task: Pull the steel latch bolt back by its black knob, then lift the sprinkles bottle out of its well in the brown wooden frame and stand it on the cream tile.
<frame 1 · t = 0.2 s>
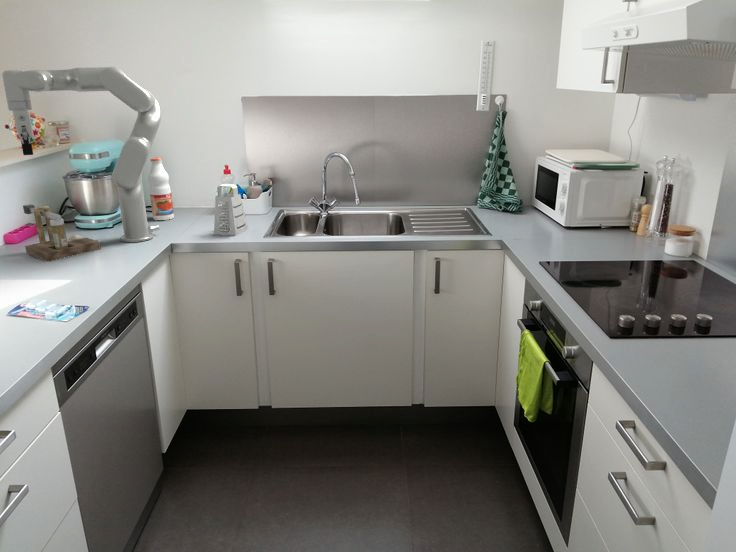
hand: (28, 153, 221), 36 cm above the worktop, tool pointing down, fingers open, 9 cm apart
fruit juice: (163, 219, 275), on the worktop
grater: (231, 232, 251), on the worktop
brown wooden frame: (63, 251, 226), on the worktop
latch bolt: (42, 213, 224), point 14 cm above the worktop, slide at 0.0 cm
sprinkles bottle: (63, 254, 222), resting in brown wooden frame
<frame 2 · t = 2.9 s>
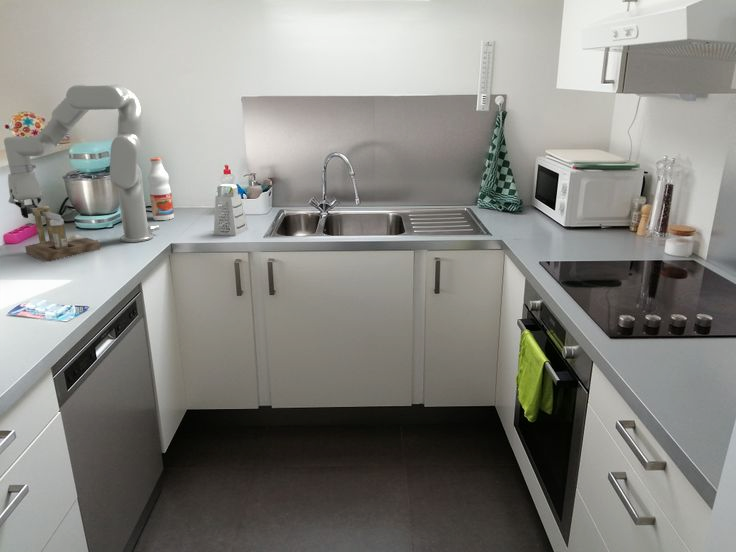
hand: (30, 216, 231), 12 cm above the worktop, tool pointing down, fingers closed on latch bolt, 3 cm apart
latch bolt: (42, 213, 224), point 14 cm above the worktop, slide at 0.0 cm, touching gripper
everything else where it was.
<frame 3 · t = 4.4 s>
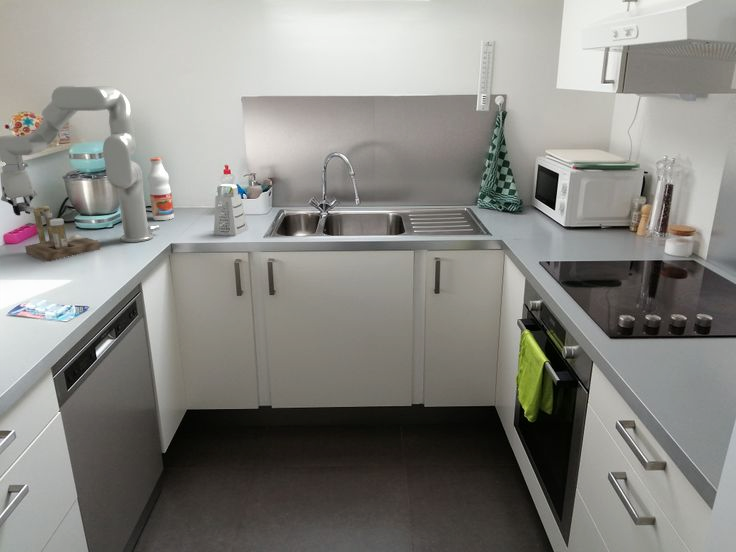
hand: (22, 213, 236), 12 cm above the worktop, tool pointing down, fingers closed on latch bolt, 3 cm apart
latch bolt: (34, 210, 228), point 14 cm above the worktop, slide at 7.0 cm, touching gripper
everything else where it was.
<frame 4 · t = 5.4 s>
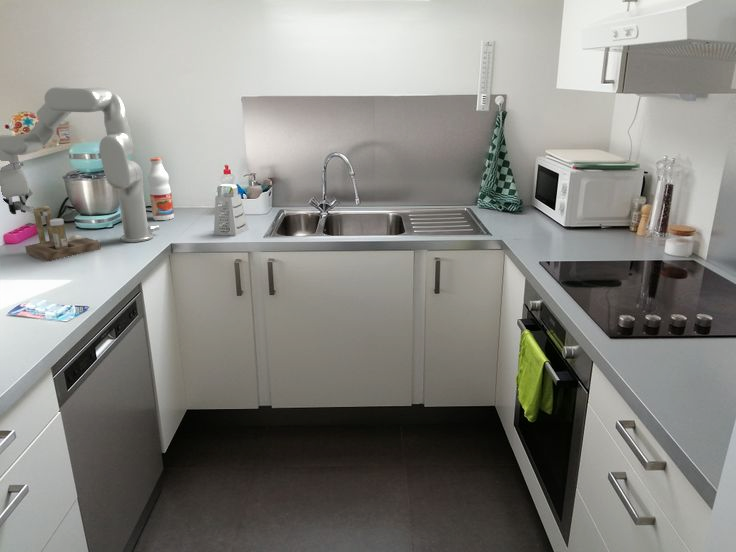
hand: (18, 212, 238), 12 cm above the worktop, tool pointing down, fingers closed on latch bolt, 3 cm apart
latch bolt: (29, 209, 230), point 14 cm above the worktop, slide at 11.0 cm, touching gripper
everything else where it was.
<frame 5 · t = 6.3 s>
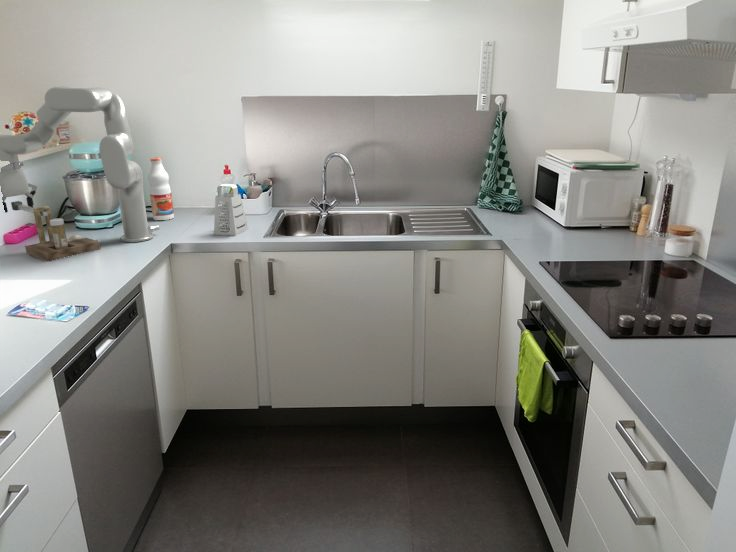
hand: (18, 209, 238), 13 cm above the worktop, tool pointing down, fingers open, 9 cm apart
latch bolt: (29, 209, 230), point 14 cm above the worktop, slide at 11.0 cm
everything else where it was.
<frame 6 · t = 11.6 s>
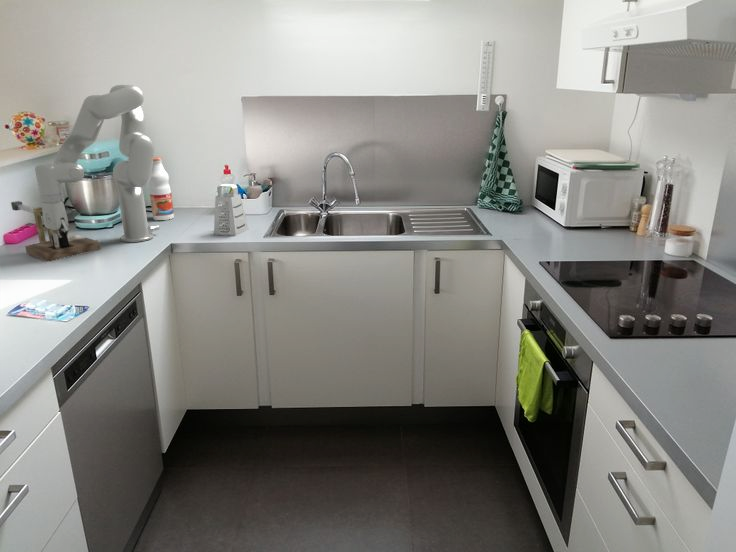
hand: (61, 245, 221), 3 cm above the worktop, tool pointing down, fingers closed on sprinkles bottle, 4 cm apart
sprinkles bottle: (63, 254, 222), resting in brown wooden frame, touching gripper
everything else where it was.
when the fingers open (8 cm above the worktop, at t = 19.2 s): sprinkles bottle drops 1 cm, resting on brown wooden frame.
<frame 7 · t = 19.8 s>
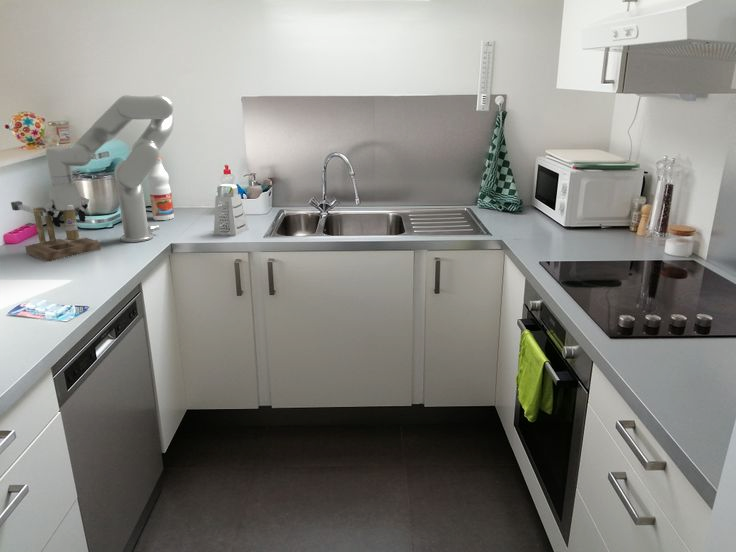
hand: (70, 223, 230), 9 cm above the worktop, tool pointing down, fingers open, 9 cm apart
latch bolt: (29, 209, 230), point 14 cm above the worktop, slide at 11.0 cm, touching gripper
sprinkles bottle: (73, 238, 232), point 3 cm above the worktop, touching brown wooden frame
everything else where it was.
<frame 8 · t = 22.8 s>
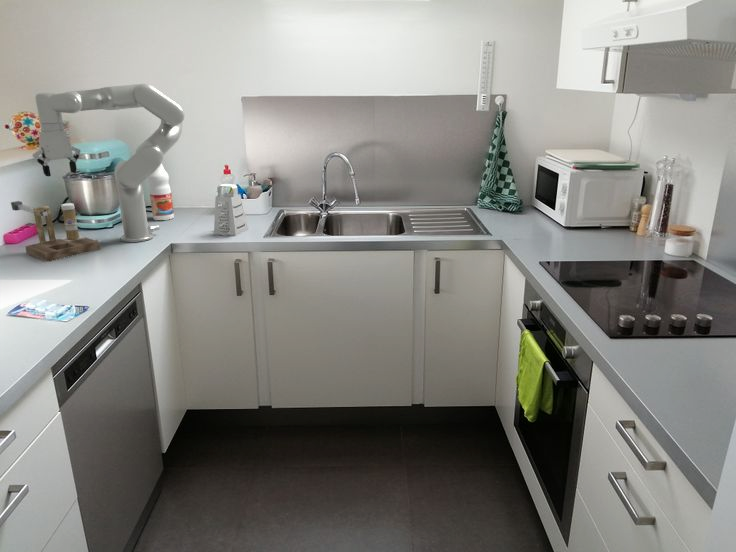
hand: (61, 174, 223), 28 cm above the worktop, tool pointing down, fingers open, 9 cm apart
latch bolt: (29, 209, 230), point 14 cm above the worktop, slide at 11.0 cm
everything else where it was.
at the end: latch bolt slide at 11.0 cm; sprinkles bottle 0.2 cm from the target spot, point 3.1 cm above the worktop; sprinkles bottle tilted 0° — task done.
